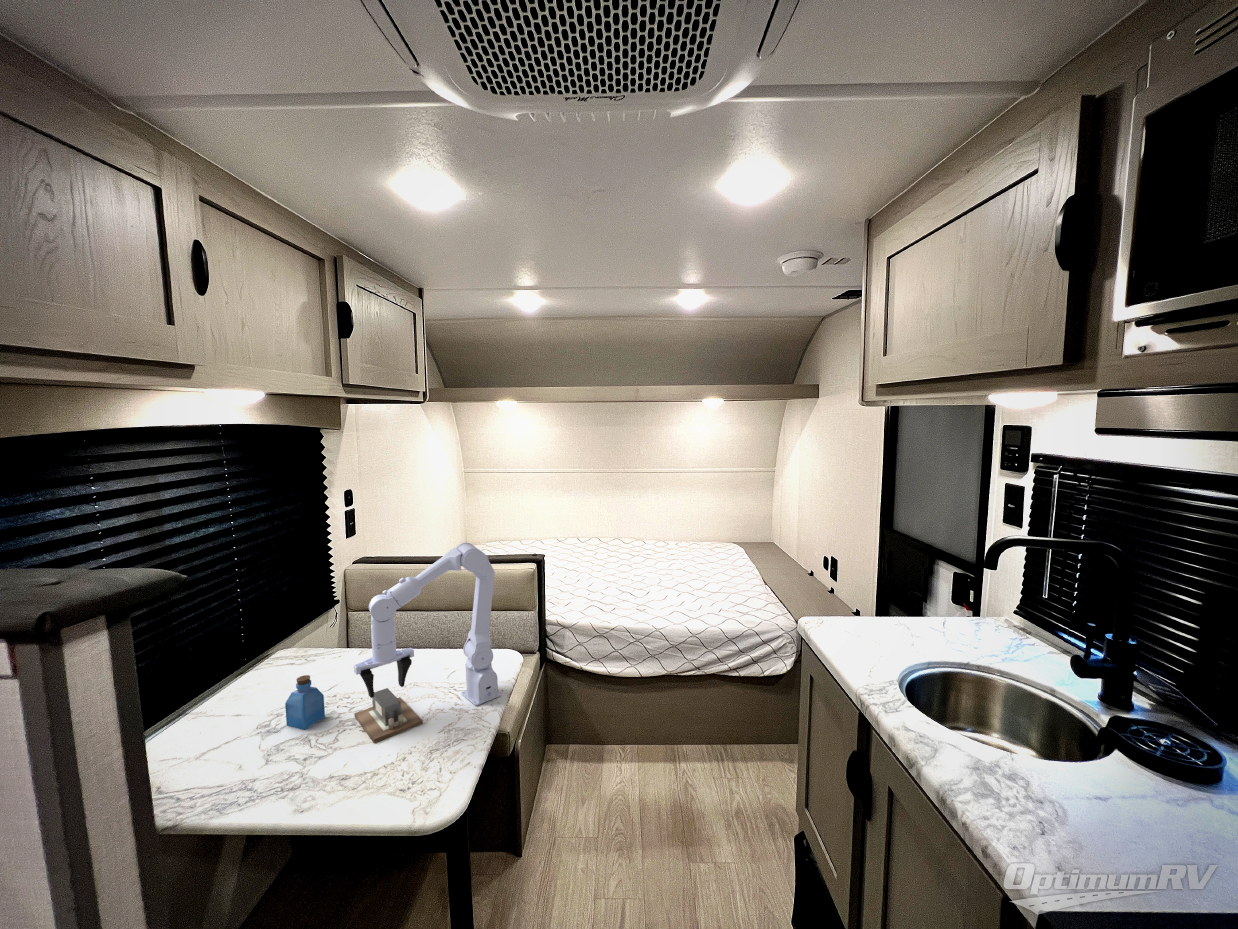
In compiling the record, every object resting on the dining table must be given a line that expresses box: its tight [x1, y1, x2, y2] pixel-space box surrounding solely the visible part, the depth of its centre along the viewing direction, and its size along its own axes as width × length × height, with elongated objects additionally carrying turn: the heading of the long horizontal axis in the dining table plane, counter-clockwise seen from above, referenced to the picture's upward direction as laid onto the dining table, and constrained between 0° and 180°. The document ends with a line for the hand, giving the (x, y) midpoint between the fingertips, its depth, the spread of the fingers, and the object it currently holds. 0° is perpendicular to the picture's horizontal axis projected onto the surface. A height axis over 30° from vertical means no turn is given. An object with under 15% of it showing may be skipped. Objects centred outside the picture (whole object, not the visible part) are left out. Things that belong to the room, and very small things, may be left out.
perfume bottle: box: [284, 674, 326, 731], centre depth 135 cm, size 6×6×12 cm
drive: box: [371, 687, 401, 726], centre depth 136 cm, size 10×4×5 cm, turn 43°
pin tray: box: [354, 696, 423, 744], centre depth 135 cm, size 16×12×4 cm
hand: (386, 690), depth 135 cm, fingers open, 7 cm apart
